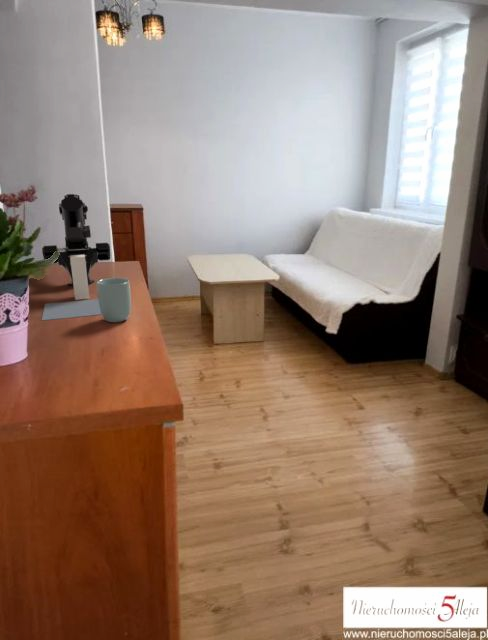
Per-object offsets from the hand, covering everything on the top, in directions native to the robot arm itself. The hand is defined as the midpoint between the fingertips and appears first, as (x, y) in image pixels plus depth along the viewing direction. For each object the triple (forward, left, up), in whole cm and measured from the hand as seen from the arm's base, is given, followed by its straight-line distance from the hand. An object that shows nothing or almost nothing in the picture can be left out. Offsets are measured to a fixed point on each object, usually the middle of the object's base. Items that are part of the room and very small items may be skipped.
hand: (79, 276), depth 133 cm
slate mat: (+9, +5, -7) cm, 13 cm away
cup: (+18, +18, -7) cm, 27 cm away
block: (-1, -1, -7) cm, 7 cm away
